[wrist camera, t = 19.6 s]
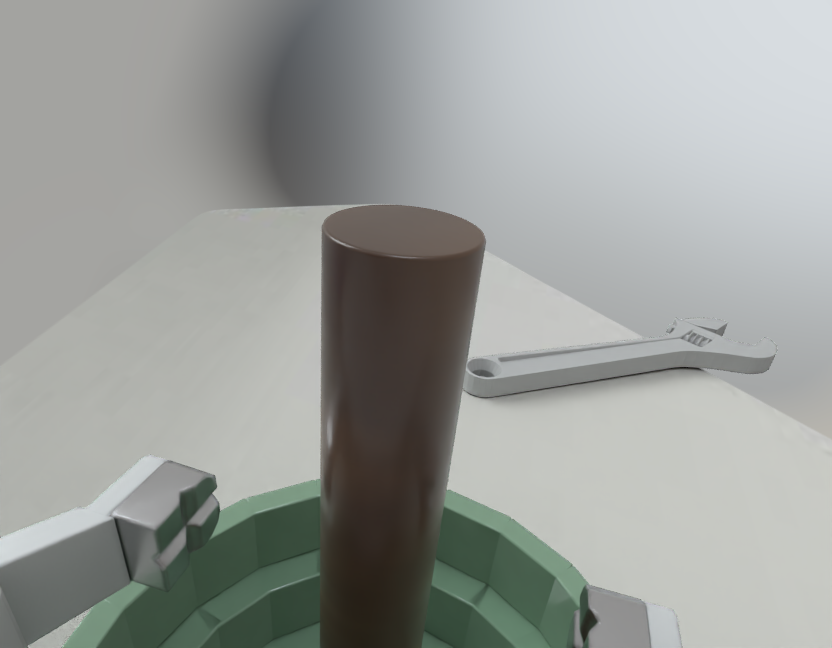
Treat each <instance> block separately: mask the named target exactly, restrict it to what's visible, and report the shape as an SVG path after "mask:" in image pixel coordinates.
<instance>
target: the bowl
mask: <svg viewBox="0 0 832 648" xmlns="http://www.w3.org/2000/svg"><path fill="white" fill-rule="evenodd" d="M320 483H321V479H317V480H316V481H315V480H311V481H307V482H304V483H300V484H296V485H293V486H289V487H285V488H282V489H278V490H274V491H271V492H267V493H263V494H260V495H256V496H252V497H249V498H247V499H242V500H240V501H239V502H237V503H235V504H233V505H231V506H229V507H227V508H225V509H223V510H221V511H220V514H219V520H218V523H217V525H216V528H215V530H214V532H213V534H212V536H211V538H210V539H209V540H208V542H207V543H206V544H205V546H204V547H202V548H200V549H198V550H196V551H194V552H192V553H190V565H189V566H188V568H187V569H186V570H185V572H184V573H183V574H182V575H181V577H180V578H179V579H178V580H177V582H176V583H175V584H174V586H173V587H172V588H171V589H170V591H169V592H168V593H167V592H164V591H161V590H158V589H155V588H152V587H149V586H145V585H142V584H139V583H136V582H133V581H130V582H131V583H130V584H129V585H127V586H126V587H124V588H122V589H121V590H119V591H117V592H116V593H114V594H112V595H111V596H109V597H107V598H106V599H104V600H102V601H101V602H99V603H97V604H96V605H94V606H93V607H92V608H91V610H90V611H89V612H88V614H87V615H86V616H85V618H84V619H83V620H82V622H81V623H80V624H79V625H78V627H77V628H76V629H75V631H74V632H73V633H72V635H71V636H70V637H69V639H68V640H67V641H66V642H65V644H64V645H63V646H62V648H320ZM586 584H588V585H589V583H588V582H587V581H586V580H585V579H584V577H583V576H582V575H581V574H580V573H579V571H578V570H577V569H576V568H575V567H574V566H572V564H571V563H570V562H569V561H568V560H566V559H565V558H564V557H562V556H561V555H560V554H558V553H557V552H556V551H554V550H553V549H552V548H551V547H549V546H548V545H547V544H545V543H544V542H543V541H541V540H540V539H539V538H537V537H536V536H535V535H533V534H532V533H531V532H530V531H528V530H527V529H526V528H524V527H523V526H522V525H520V524H519V523H518V522H516V521H515V520H514V519H511V517H509V516H507V515H505V514H502V513H500V512H498V511H496V510H493V509H491V508H489V507H487V506H484V505H482V504H480V503H478V502H476V501H473V500H471V499H469V498H467V497H464V496H462V495H460V494H458V493H456V492H453V491H451V490H448V491H447V490H446V496H445V502H444V508H443V515H442V521H441V527H440V534H439V540H438V546H437V552H436V559H435V565H434V571H433V577H432V584H431V590H430V596H429V603H428V609H427V615H426V621H425V628H424V634H423V640H422V647H421V648H566V645H567V637H568V632H569V627H570V622H571V619H572V616H573V613H574V611H577V610H579V609H580V594H581V592H582V589H583V587H584V586H585V585H586Z"/></svg>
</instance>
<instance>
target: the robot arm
mask: <svg viewBox="0 0 832 648" xmlns="http://www.w3.org/2000/svg"><path fill="white" fill-rule="evenodd" d="M216 488H217V484H216V478H215V475H212V474H210V473H207V472H204V471H201V470H197V469H194V468H191V467H188V466H185V465H182V464H179V463H176V462H173V461H170V460H167V459H163V458H160V457H157V456H154V455H151V454H150V455H147V456H145V457H142V458H141V459H140V460H139V461H137V462H136V463H135V464H134V465H133V466H132V467H131V468H130V469H129V470H127V471H126V472H125V473H124V474H123V475H122V476H121V477H120V478H119V479H117V480H116V481H115V482H114V483H113V484H112V485H111V486H110V487H109V488H107V489H106V490H105V491H104V492H103V493H102V494H101V495H100V496H99V497H98V498H96V499H95V500H94V501H93V502H92V503H91V504H90V505H89V506H88V507H86V508H83V507H77V508H74V509H72V510H69V511H67V512H64V513H61V514H59V515H56V516H54V517H51V518H49V519H46V520H43V521H41V522H38V523H36V524H33V525H30V526H28V527H25V528H23V529H20V530H18V531H15V532H12V533H10V534H7V535H5V536H2V537H0V648H28V647H27V646H28V645H30V644H31V643H33V642H35V641H36V640H38V639H40V638H41V637H43V636H45V635H46V634H48V633H50V632H51V631H53V630H54V629H56V628H58V627H59V626H61V625H63V624H64V623H66V622H68V621H69V620H71V619H73V618H74V617H76V616H78V615H79V614H81V613H83V612H84V611H86V610H88V609H89V608H91V607H93V606H94V605H96V604H97V603H99V602H101V601H102V600H104V599H106V598H107V597H109V596H111V595H112V594H114V593H116V592H117V591H119V590H121V589H122V588H124V587H126V586H127V585H129V584H130V583H131V582H130V581H133V582H136V583H139V584H142V585H145V586H149V587H152V588H155V589H158V590H161V591H164V592H167V593H168V592H169V591H170V589H171V588H172V587H173V586H174V584H175V583H176V582H177V580H178V579H179V578H180V577H181V575H182V574H183V573H184V572H185V570H186V569H187V568H188V566H189V565H190V553H192V552H194V551H196V550H198V549H200V548H202V547H204V546H205V544H206V543H207V542H208V540H209V539H210V538H211V536H212V534H213V532H214V530H215V528H216V525H217V523H218V520H219V514H220V507H219V502H218V501H217V499H216V498H215V497H214V495H213V494H212V493H213V491H214V490H215V489H216ZM566 648H683V646H682V641H681V635H680V629H679V623H678V618H677V615H676V613H675V611H674V610H673V609H670V608H666V607H663V606H660V605H656V604H653V603H649V602H646V601H642V600H641V599H638V598H634V597H631V596H627V595H624V594H620V593H617V592H613V591H610V590H606V589H602V588H599V587H595V586H592V585H588V584H586V585H585V586H584V587H583V589H582V592H581V594H580V609H579V610H577V611H574V613H573V616H572V619H571V622H570V627H569V632H568V637H567V645H566Z"/></svg>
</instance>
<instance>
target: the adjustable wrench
mask: <svg viewBox="0 0 832 648" xmlns="http://www.w3.org/2000/svg"><path fill="white" fill-rule="evenodd" d="M727 323H728V322H726V321H724V320H720V319H713V318H688V319H683V320H680V319H678V318H675V319H674V322H673V324H670V325H669V326H668V329H667V331H666V332H667V333H669V334H667V335H665V336H659V337H651V338H642V339H633V340H624V341H615V342H606V343H597V344H588V345H579V346H570V347H561V348H552V349H543V350H534V351H525V352H516V353H507V354H498V355H489V356H480V357H473V358H470V359H468V360H467V364H466V370H465V376H464V383H463V389H464V390H465V391H466V392H468V393H470V394H472V395H475V396H478V397H494V396H500V395H506V394H512V393H519V392H525V391H531V390H537V389H543V388H549V387H556V386H562V385H568V384H574V383H580V382H587V381H593V380H599V379H605V378H611V377H617V376H624V375H630V374H636V373H642V372H648V371H655V370H661V369H667V368H673V367H696V368H709V369H717V370H724V371H731V372H738V373H745V374H758V373H763V372H765V371H767V370H768V369H769V367H770V365H771V363H772V361H773V359H774V357H775V355H776V353H777V346H776V344H775V343H774V342H773V341H772V340H771V339H769V338H767V337H764V338H763V339H762V340H761V341H760V342H758V343H757V344H756V345H751V344H746V343H741V342H736V341H732V340H729V339H727V338H724V337H722V336H723V333H724V331H725V329H726V326H727ZM481 376H484V377H481Z"/></svg>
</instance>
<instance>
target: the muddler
mask: <svg viewBox="0 0 832 648" xmlns="http://www.w3.org/2000/svg"><path fill="white" fill-rule="evenodd" d="M485 244H486V239H485V236H484V233H483V232H482V231H481V229H479V228H478V227H477V226H476V225H474V224H472V223H470V222H469V221H467V220H464V219H462V218H460V217H457V216H454V215H451V214H448V213H445V212H441V211H437V210H432V209H427V208H420V207H412V206H402V205H369V206H360V207H354V208H349V209H345V210H341V211H338V212H336V213H334V214H332V215H330V216H329V217H327V218H326V219H325V221H324V223H323V225H322V279H321V483H320V648H421V647H422V640H423V634H424V628H425V621H426V615H427V609H428V603H429V596H430V590H431V584H432V577H433V571H434V565H435V559H436V552H437V546H438V540H439V534H440V527H441V521H442V515H443V508H444V502H445V496H446V490H447V483H448V477H449V471H450V464H451V458H452V452H453V446H454V439H455V433H456V427H457V420H458V414H459V408H460V402H461V395H462V389H463V383H464V376H465V370H466V364H467V358H468V351H469V345H470V339H471V332H472V326H473V320H474V314H475V307H476V301H477V295H478V288H479V282H480V276H481V270H482V263H483V257H484V251H485Z"/></svg>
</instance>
